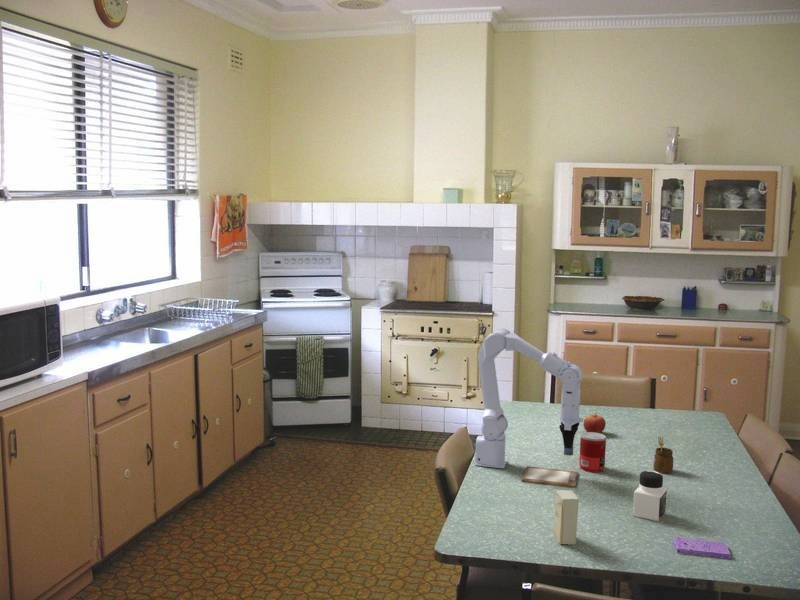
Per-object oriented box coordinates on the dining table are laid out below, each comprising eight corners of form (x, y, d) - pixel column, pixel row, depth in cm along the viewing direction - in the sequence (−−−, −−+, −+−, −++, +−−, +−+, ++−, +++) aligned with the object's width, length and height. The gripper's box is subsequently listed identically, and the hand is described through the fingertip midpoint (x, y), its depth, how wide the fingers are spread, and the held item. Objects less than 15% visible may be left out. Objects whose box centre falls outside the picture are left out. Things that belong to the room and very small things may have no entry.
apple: (608, 432, 295) (609, 412, 294) (601, 438, 288) (602, 416, 287) (587, 429, 299) (588, 408, 298) (580, 434, 292) (581, 413, 291)
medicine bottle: (659, 522, 213) (661, 479, 211) (632, 516, 217) (634, 474, 215) (665, 513, 219) (668, 471, 217) (639, 507, 223) (642, 466, 221)
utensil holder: (675, 470, 254) (678, 434, 252) (667, 475, 249) (669, 438, 248) (658, 466, 258) (660, 430, 256) (649, 471, 253) (651, 434, 252)
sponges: (673, 543, 201) (673, 536, 201) (725, 548, 198) (726, 541, 198) (676, 555, 194) (676, 547, 194) (730, 561, 192) (731, 553, 191)
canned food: (605, 473, 250) (606, 439, 249) (579, 471, 252) (580, 438, 251) (603, 465, 258) (605, 433, 256) (578, 463, 259) (580, 431, 258)
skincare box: (552, 534, 204) (554, 489, 202) (569, 534, 204) (571, 489, 203) (559, 545, 197) (561, 498, 196) (577, 545, 198) (579, 498, 196)
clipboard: (521, 481, 242) (521, 478, 242) (527, 468, 254) (527, 464, 254) (575, 487, 237) (575, 484, 237) (577, 473, 250) (578, 470, 250)
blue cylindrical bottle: (563, 455, 246) (564, 429, 245) (563, 452, 249) (565, 426, 248) (572, 456, 245) (574, 430, 244) (573, 453, 248) (574, 427, 247)
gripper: (582, 411, 237) (580, 454, 239) (585, 399, 251) (583, 441, 253) (558, 409, 239) (556, 452, 241) (562, 397, 253) (560, 438, 255)
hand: (568, 446), depth 247 cm, fingers closed on blue cylindrical bottle, 3 cm apart
